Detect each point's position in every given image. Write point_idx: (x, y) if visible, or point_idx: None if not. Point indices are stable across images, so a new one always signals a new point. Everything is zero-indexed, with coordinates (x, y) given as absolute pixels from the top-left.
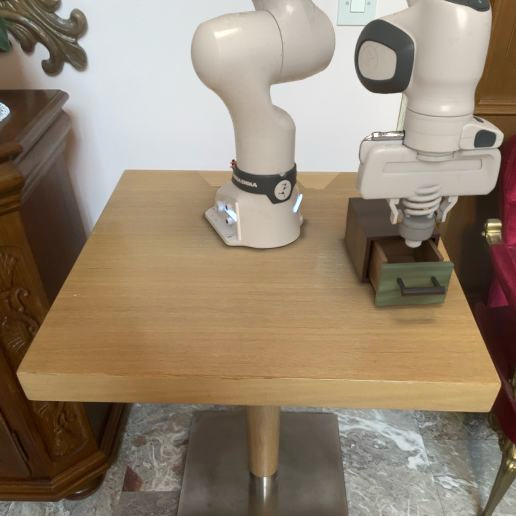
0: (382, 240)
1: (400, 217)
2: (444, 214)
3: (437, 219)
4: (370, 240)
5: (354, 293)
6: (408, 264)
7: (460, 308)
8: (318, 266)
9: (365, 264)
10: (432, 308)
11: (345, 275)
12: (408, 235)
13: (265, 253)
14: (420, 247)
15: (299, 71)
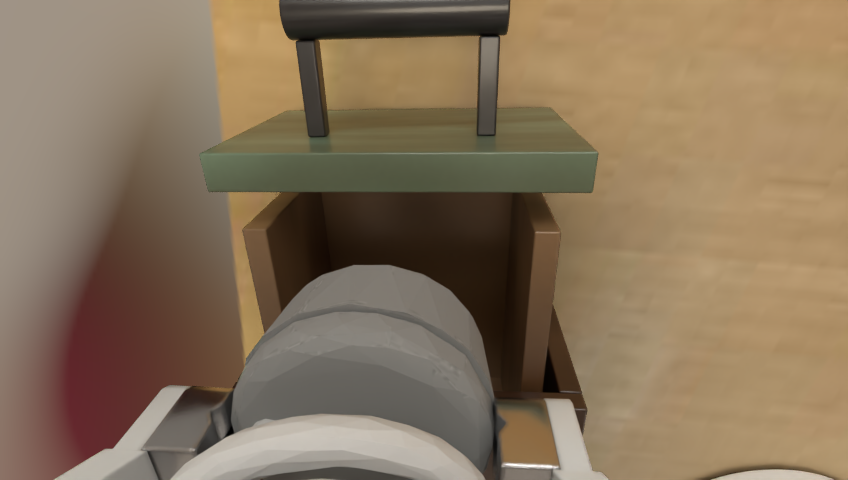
0: None
1: (526, 439)
2: (142, 432)
3: (213, 402)
4: (562, 393)
5: (587, 216)
6: (441, 175)
7: (231, 97)
8: (653, 370)
9: None
10: (331, 104)
11: (581, 317)
12: (448, 303)
13: (798, 448)
14: None
15: None
